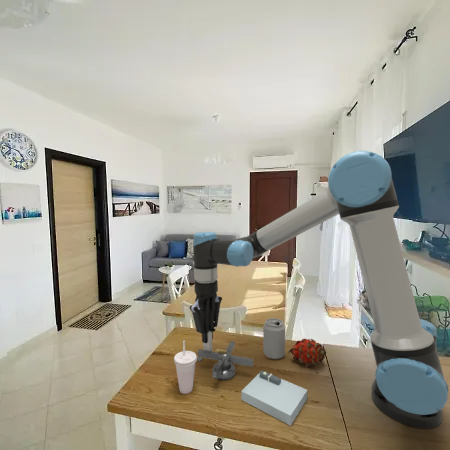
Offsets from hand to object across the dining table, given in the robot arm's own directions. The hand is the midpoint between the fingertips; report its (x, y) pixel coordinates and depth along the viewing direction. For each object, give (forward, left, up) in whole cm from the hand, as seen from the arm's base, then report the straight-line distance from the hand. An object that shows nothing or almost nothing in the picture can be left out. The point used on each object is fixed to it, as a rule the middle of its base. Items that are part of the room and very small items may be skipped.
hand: (207, 350), depth 87 cm
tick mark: (+4, 0, -5) cm, 6 cm away
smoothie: (-3, +13, -5) cm, 14 cm away
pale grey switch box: (-25, +1, -5) cm, 25 cm away
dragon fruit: (-26, -20, -5) cm, 33 cm away
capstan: (-7, 0, -5) cm, 8 cm away
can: (-15, -18, -5) cm, 24 cm away
